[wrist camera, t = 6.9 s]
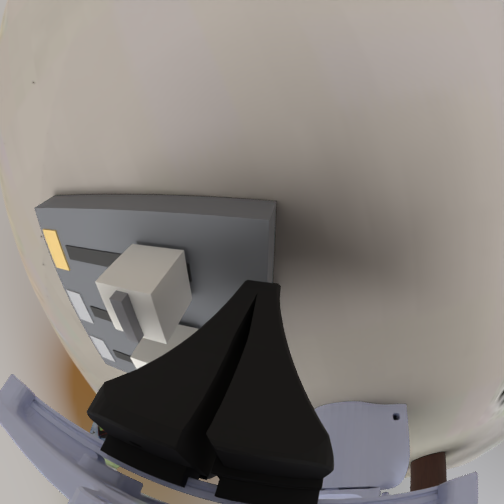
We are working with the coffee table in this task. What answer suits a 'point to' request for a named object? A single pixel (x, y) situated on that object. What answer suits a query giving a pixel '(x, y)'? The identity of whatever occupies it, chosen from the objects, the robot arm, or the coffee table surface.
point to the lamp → (428, 471)
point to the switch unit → (158, 235)
